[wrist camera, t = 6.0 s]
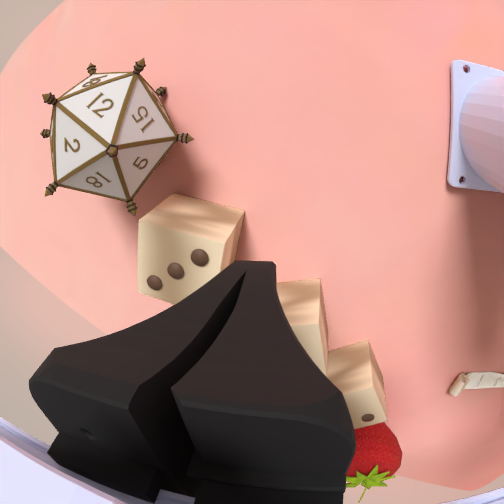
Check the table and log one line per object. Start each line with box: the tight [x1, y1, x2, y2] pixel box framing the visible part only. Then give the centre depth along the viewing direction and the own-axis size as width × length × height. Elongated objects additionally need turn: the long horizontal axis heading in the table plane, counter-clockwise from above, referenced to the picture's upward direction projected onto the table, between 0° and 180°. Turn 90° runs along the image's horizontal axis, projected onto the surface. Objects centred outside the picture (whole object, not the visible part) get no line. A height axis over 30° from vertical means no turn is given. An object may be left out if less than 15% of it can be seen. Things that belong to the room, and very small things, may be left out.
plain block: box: [276, 278, 328, 377], centre depth 22 cm, size 5×5×5 cm
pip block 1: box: [138, 193, 245, 304], centre depth 20 cm, size 5×5×5 cm
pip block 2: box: [327, 339, 387, 429], centre depth 24 cm, size 5×5×5 cm
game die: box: [40, 58, 194, 216], centre depth 16 cm, size 9×8×10 cm
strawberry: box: [346, 422, 402, 502], centre depth 24 cm, size 6×8×10 cm
